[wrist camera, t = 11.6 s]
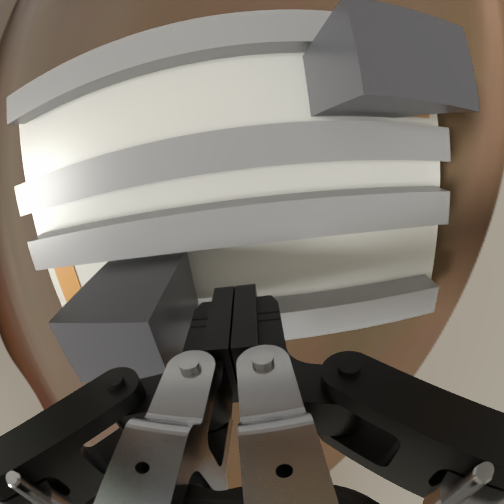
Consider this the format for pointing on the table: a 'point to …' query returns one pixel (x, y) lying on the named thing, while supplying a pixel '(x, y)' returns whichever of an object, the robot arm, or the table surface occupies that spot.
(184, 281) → the grey slider block
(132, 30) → the table surface
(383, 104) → the inner tab
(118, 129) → the switch board
